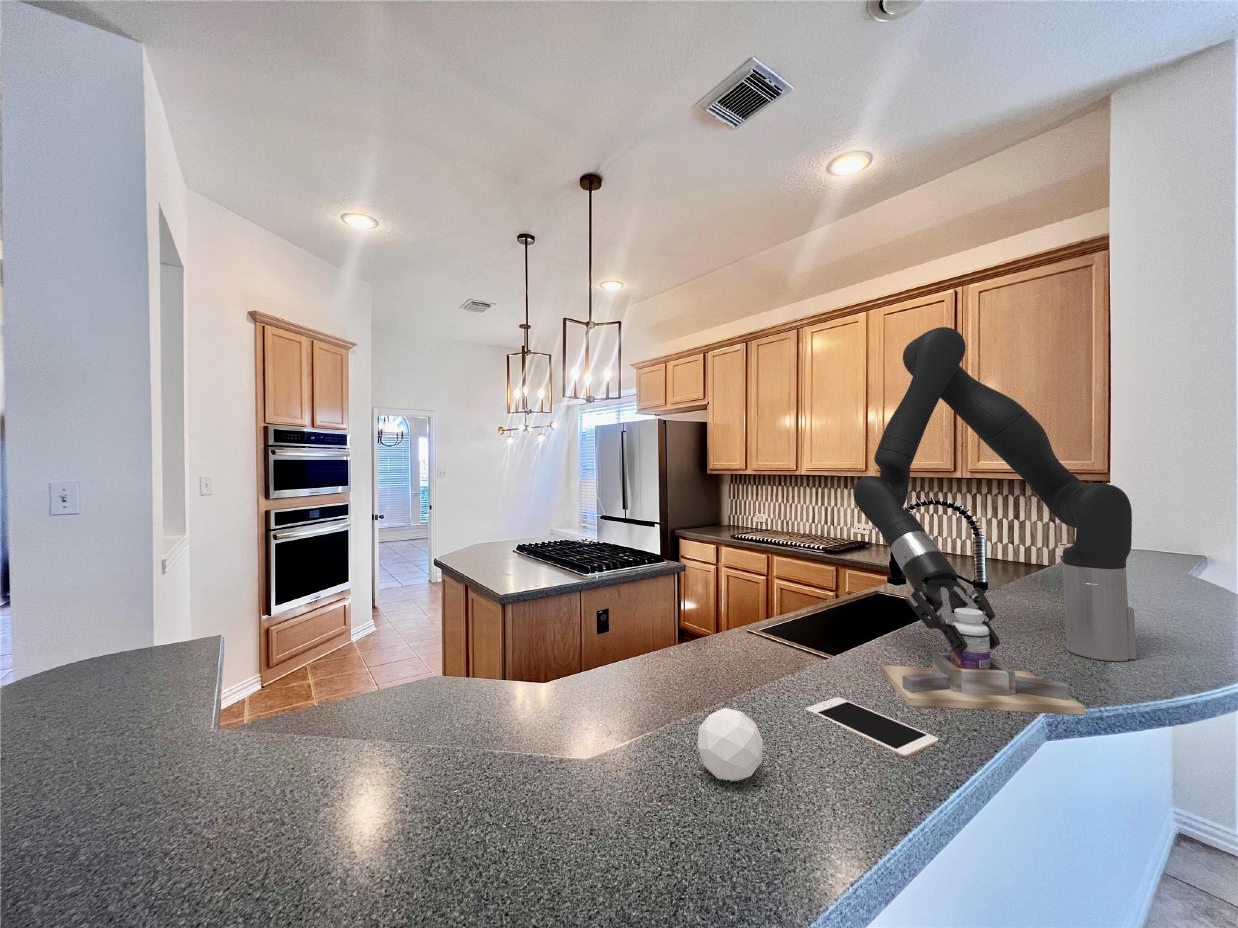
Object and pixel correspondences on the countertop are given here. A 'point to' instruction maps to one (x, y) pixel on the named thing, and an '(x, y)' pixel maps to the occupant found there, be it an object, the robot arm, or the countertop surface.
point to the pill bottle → (971, 640)
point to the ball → (730, 745)
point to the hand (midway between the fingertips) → (978, 647)
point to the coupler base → (979, 688)
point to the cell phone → (874, 726)
